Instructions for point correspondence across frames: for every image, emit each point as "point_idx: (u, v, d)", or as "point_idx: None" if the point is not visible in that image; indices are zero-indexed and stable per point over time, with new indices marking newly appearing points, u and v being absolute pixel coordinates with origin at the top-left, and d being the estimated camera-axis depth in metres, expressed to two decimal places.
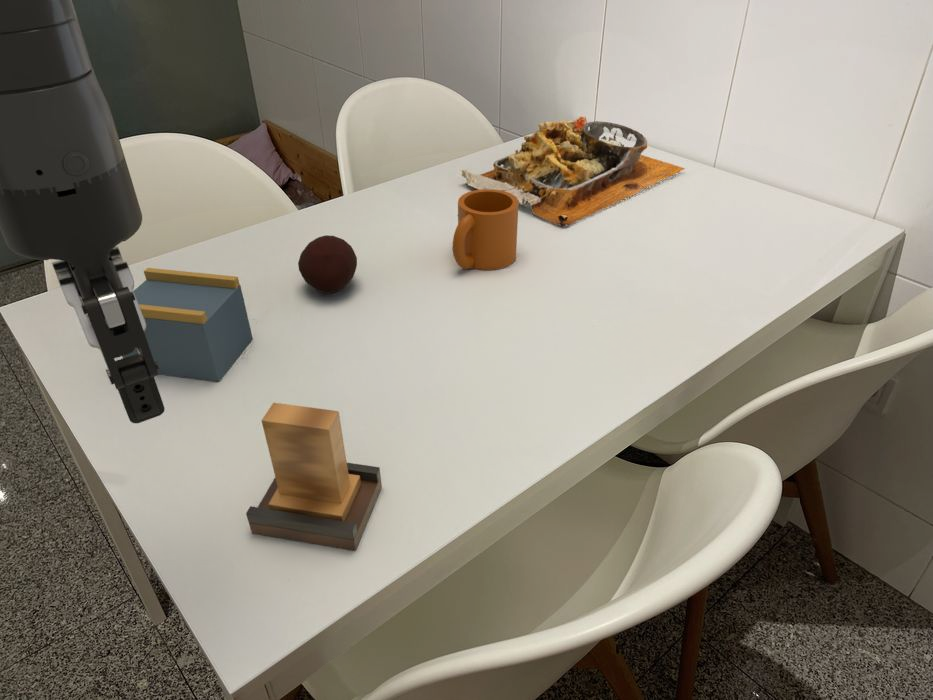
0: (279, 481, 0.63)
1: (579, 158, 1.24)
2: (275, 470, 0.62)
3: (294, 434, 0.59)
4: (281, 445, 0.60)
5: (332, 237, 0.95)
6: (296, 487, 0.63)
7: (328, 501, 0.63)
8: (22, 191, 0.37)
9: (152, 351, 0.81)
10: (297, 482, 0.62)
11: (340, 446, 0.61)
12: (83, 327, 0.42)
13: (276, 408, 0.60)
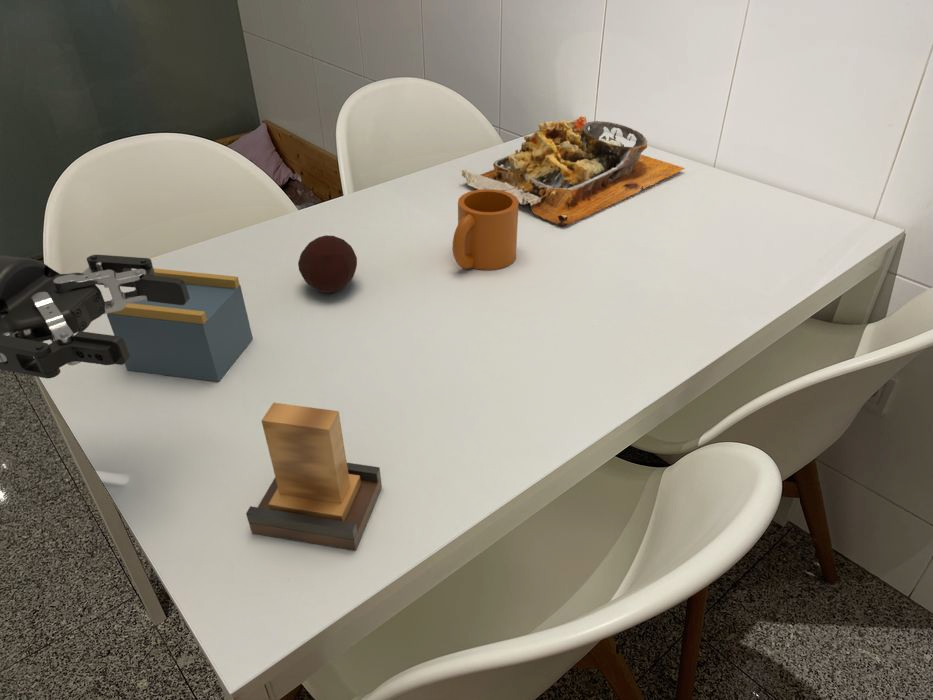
0: (279, 481, 0.63)
1: (579, 158, 1.24)
2: (275, 470, 0.62)
3: (294, 434, 0.59)
4: (281, 445, 0.60)
5: (332, 237, 0.95)
6: (296, 487, 0.63)
7: (328, 501, 0.63)
8: None
9: (152, 351, 0.81)
10: (297, 482, 0.62)
11: (340, 446, 0.61)
12: (97, 272, 0.59)
13: (276, 408, 0.60)
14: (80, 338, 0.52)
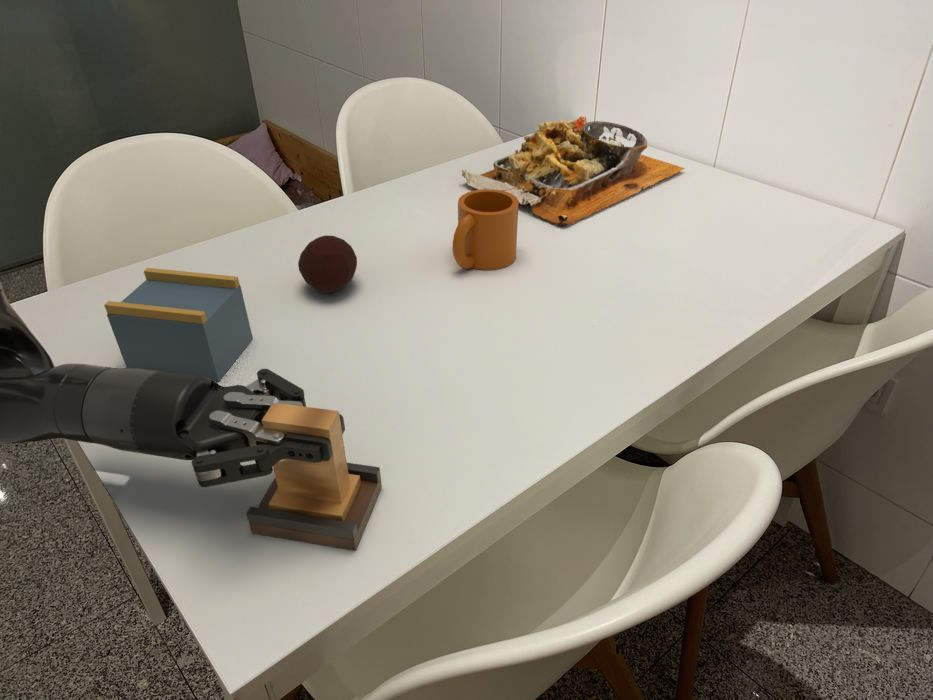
0: (279, 481, 0.63)
1: (579, 158, 1.24)
2: (275, 470, 0.62)
3: None
4: None
5: (332, 237, 0.95)
6: (296, 487, 0.63)
7: (328, 501, 0.63)
8: None
9: (152, 351, 0.81)
10: (297, 482, 0.62)
11: (340, 446, 0.61)
12: (263, 396, 0.62)
13: (276, 408, 0.60)
14: (291, 439, 0.58)
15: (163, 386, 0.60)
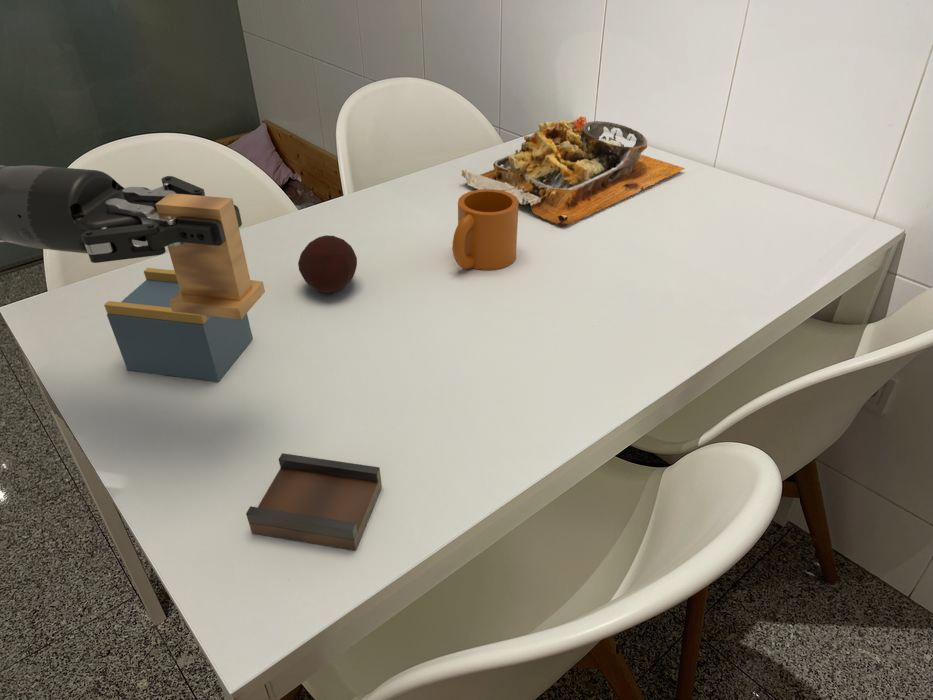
0: (179, 278, 0.64)
1: (579, 158, 1.24)
2: (174, 265, 0.63)
3: None
4: None
5: (332, 237, 0.95)
6: (196, 284, 0.64)
7: (227, 298, 0.64)
8: None
9: (152, 351, 0.81)
10: (196, 278, 0.63)
11: (236, 237, 0.62)
12: (162, 191, 0.63)
13: (172, 196, 0.61)
14: (183, 221, 0.59)
15: (61, 173, 0.61)
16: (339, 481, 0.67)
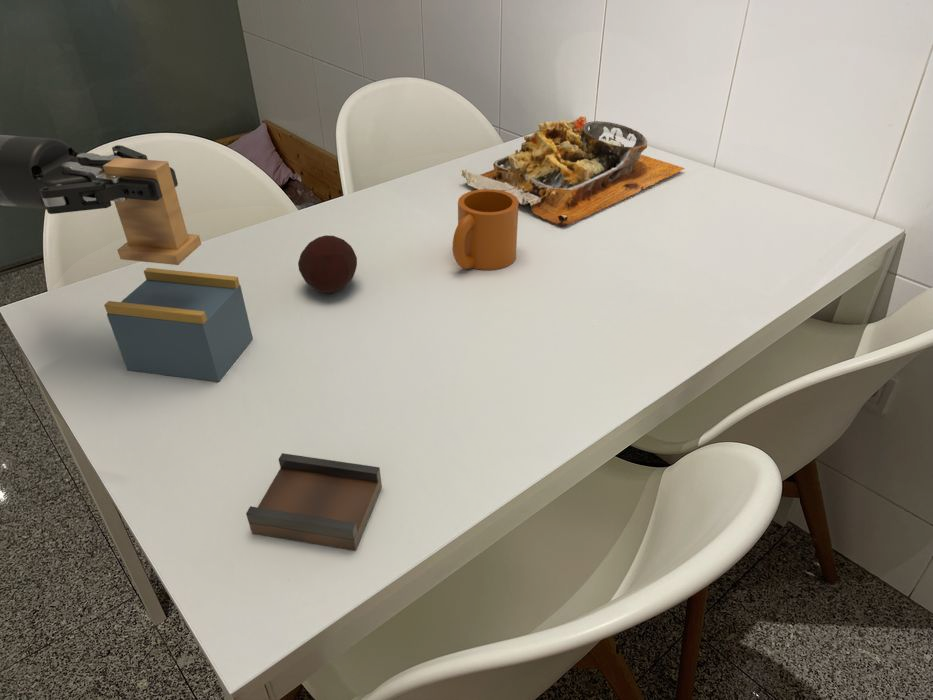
0: (125, 230, 0.76)
1: (579, 158, 1.24)
2: (120, 219, 0.75)
3: None
4: None
5: (332, 237, 0.95)
6: (140, 235, 0.76)
7: (167, 247, 0.76)
8: None
9: (152, 351, 0.81)
10: (140, 230, 0.75)
11: (172, 195, 0.74)
12: (110, 156, 0.75)
13: (117, 160, 0.73)
14: (126, 179, 0.71)
15: (24, 141, 0.72)
16: (339, 481, 0.67)
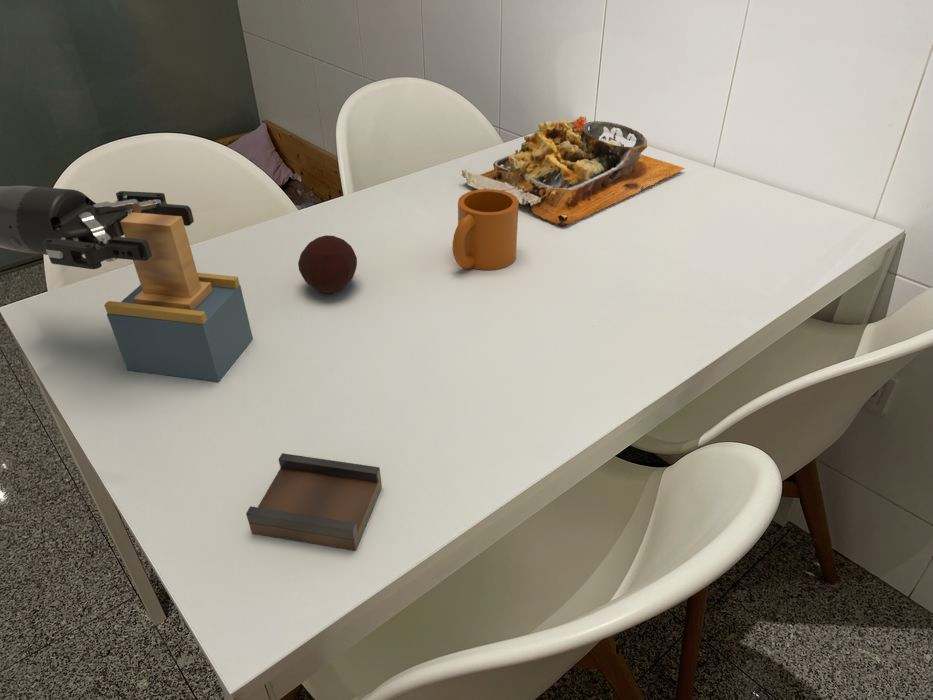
0: (141, 280, 0.79)
1: (579, 158, 1.24)
2: (136, 269, 0.79)
3: (146, 233, 0.75)
4: None
5: (332, 237, 0.95)
6: (155, 284, 0.79)
7: (180, 296, 0.80)
8: None
9: (152, 351, 0.81)
10: (155, 280, 0.79)
11: (185, 247, 0.77)
12: (125, 201, 0.79)
13: (133, 215, 0.76)
14: (116, 241, 0.72)
15: (43, 192, 0.76)
16: (339, 481, 0.67)
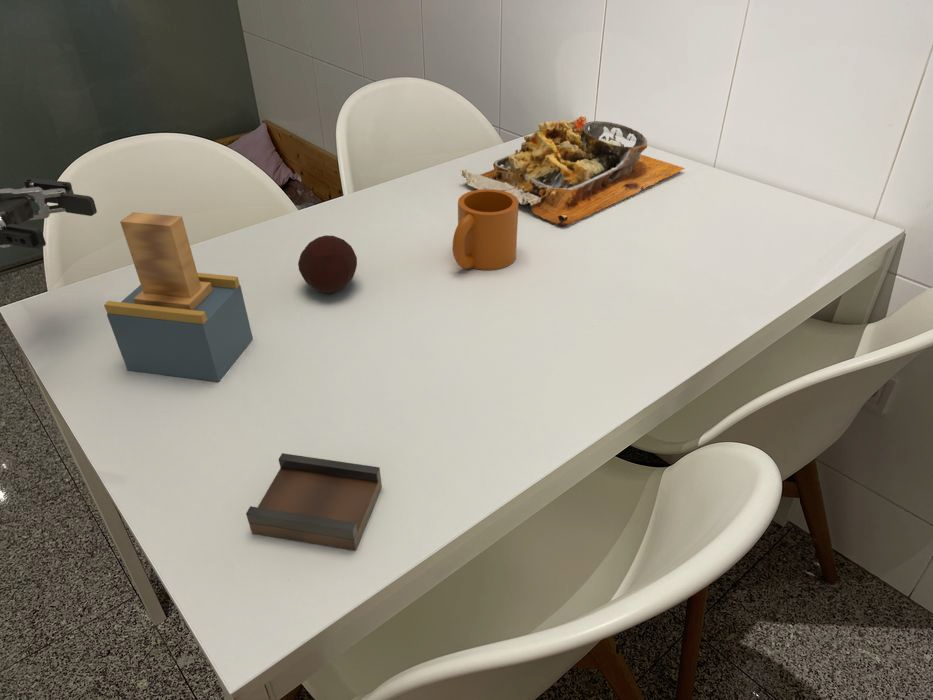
0: (141, 280, 0.79)
1: (579, 158, 1.24)
2: (136, 269, 0.79)
3: (146, 233, 0.75)
4: (138, 244, 0.76)
5: (332, 237, 0.95)
6: (155, 284, 0.79)
7: (180, 296, 0.80)
8: None
9: (152, 351, 0.81)
10: (155, 280, 0.79)
11: (185, 247, 0.77)
12: (29, 188, 0.81)
13: (133, 215, 0.76)
14: (10, 228, 0.74)
15: None
16: (339, 481, 0.67)
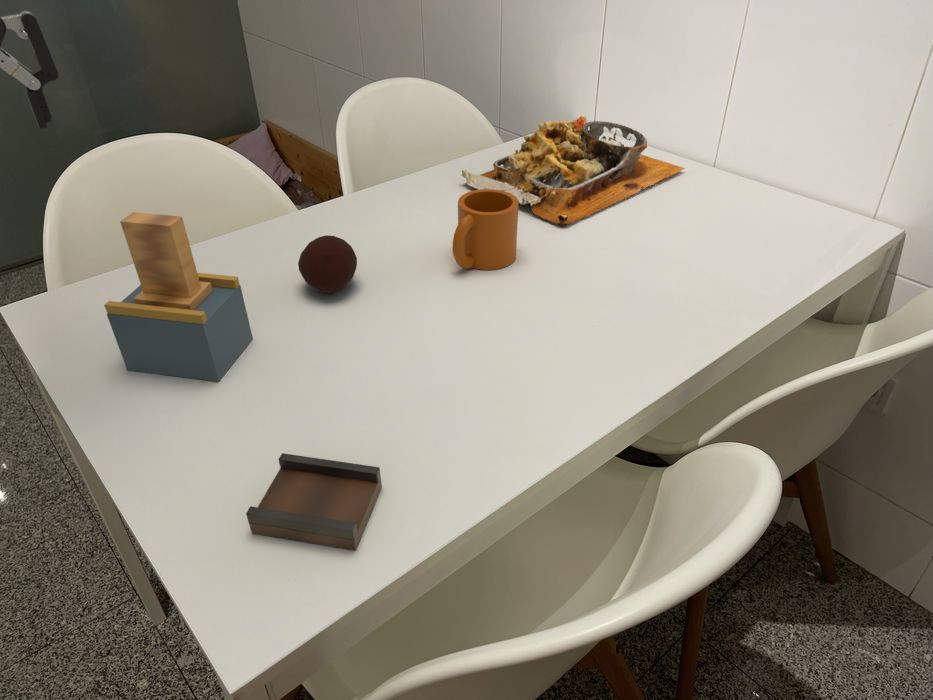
0: (141, 280, 0.79)
1: (579, 158, 1.24)
2: (136, 269, 0.79)
3: (146, 233, 0.75)
4: (138, 244, 0.76)
5: (332, 237, 0.95)
6: (155, 284, 0.79)
7: (180, 296, 0.80)
8: None
9: (152, 351, 0.81)
10: (155, 280, 0.79)
11: (185, 247, 0.77)
12: (6, 56, 0.65)
13: (133, 215, 0.76)
14: None
15: None
16: (339, 481, 0.67)
